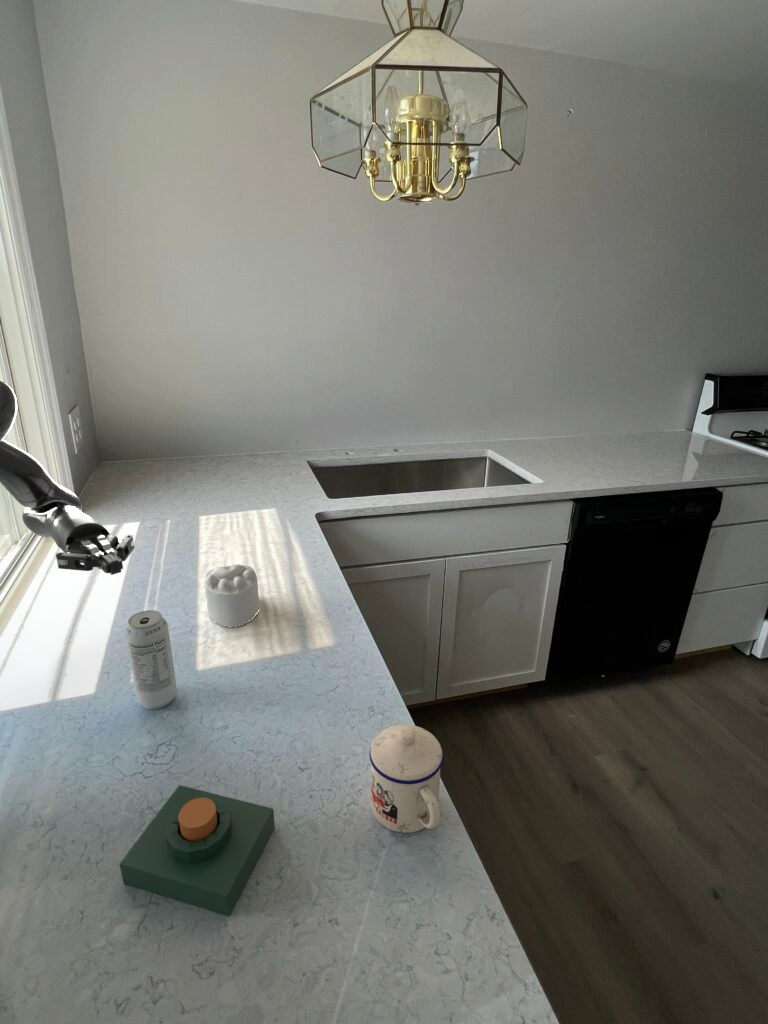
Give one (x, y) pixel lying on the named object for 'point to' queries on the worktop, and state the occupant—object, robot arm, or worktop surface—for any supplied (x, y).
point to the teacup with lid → (405, 778)
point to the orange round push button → (198, 819)
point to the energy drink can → (151, 659)
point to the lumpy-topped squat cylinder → (231, 594)
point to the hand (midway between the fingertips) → (116, 568)
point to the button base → (200, 853)
